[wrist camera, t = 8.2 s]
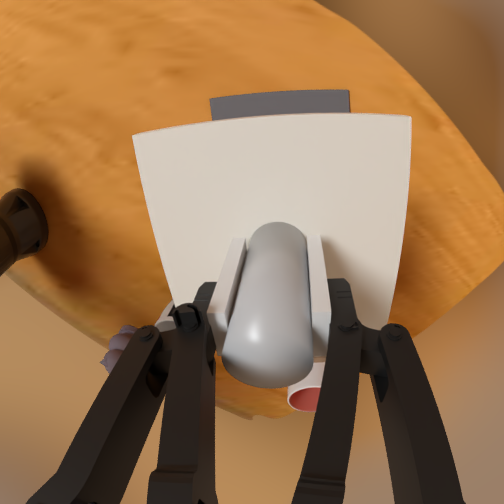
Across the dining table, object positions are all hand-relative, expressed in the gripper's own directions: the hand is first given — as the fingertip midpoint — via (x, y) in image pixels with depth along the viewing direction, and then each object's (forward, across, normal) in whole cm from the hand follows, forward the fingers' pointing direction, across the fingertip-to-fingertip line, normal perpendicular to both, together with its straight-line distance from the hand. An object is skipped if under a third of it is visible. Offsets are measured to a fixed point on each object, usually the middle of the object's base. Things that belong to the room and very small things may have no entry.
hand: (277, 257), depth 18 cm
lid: (+3, 0, 0) cm, 3 cm away
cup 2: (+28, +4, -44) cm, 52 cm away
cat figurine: (+28, -36, -37) cm, 59 cm away
